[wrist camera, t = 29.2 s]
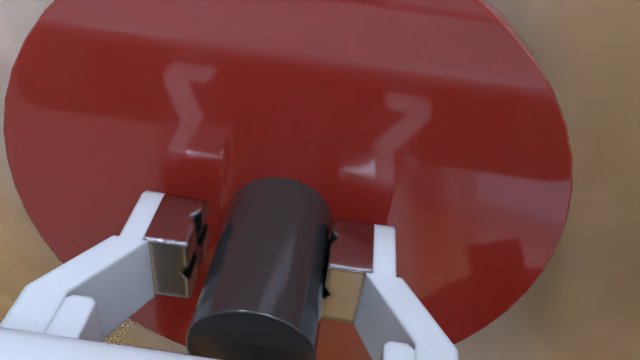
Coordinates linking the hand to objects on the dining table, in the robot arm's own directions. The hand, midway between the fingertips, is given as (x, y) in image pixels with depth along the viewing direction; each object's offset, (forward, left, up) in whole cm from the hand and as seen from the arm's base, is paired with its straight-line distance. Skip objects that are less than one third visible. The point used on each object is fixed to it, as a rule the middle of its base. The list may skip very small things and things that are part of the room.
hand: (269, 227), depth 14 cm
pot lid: (0, 0, -1) cm, 1 cm away
